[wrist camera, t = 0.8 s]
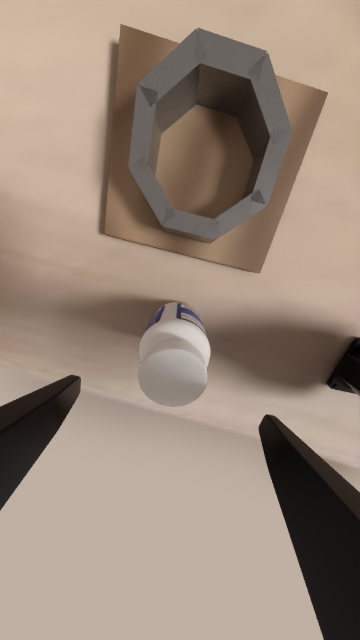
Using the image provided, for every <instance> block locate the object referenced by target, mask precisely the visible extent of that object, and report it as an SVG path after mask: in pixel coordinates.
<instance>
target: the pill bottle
mask: <svg viewBox="0 0 360 640" xmlns="http://www.w3.org/2000/svg"><path fill="white" fill-rule="evenodd" d="M139 360H140V363H141V366H140V369H139V374H138V379H139V384H140V387H141V389H142V391H143V392H144V393H145V394H146V396H147V397H149V398H150V399H151V400H153V401H154V402H156V403H158V404H161V405H165V406H183V405H186V404H189V403H191V402H193V401H195V400H196V399H197V398H198V397H199V396H200V395H201V394H202V393H203V391H204V390H205V387H206V385H207V370H206V368H207V366H208V363H209V360H210V345H209V341H208V338H207V335H206V332H205V329H204V327H203V324H202V321H201V319H200V316H199V314H198V313H197V311H196V310H195V309H194V308H192V307H191V306H190V305H188V304H185V303H181V302H171V303H167V304H165V305H163V306H161V307H160V308H159V309H158V310H157V311H156V312H155V314H154V315H153V317H152V319H151V321H150V323H149V325H148V327H147V329H146V331H145V332H144V334H143V336H142V339H141V341H140V344H139Z"/></svg>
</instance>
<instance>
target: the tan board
mask: <svg viewBox="0 0 360 640" xmlns="http://www.w3.org/2000/svg"><path fill="white" fill-rule="evenodd" d="M179 44H180V43H177V42H174V41H171V40H168V39H164V38H161V37H158V36H155V35H152V34H149V33H146V32H143V31H140V30H137V29H134V28H131V27H128V26H125V25H122V24H121V25H120V38H119V51H118V64H117V76H116V89H115V102H114V115H113V128H112V141H111V153H110V166H109V179H108V192H107V205H106V217H105V230H104V234H106V235H109V236H113V237H116V238H120V239H124V240H128V241H132V242H136V243H140V244H144V245H148V246H152V247H156V248H160V249H164V250H168V251H172V252H176V253H180V254H184V255H188V256H192V257H196V258H200V259H204V260H208V261H212V262H216V263H219V264H223V265H227V266H231V267H235V268H239V269H243V270H247V271H251V272H255V273H260V272H261V269H262V266H263V264H264V261H265V258H266V256H267V253H268V250H269V248H270V245H271V242H272V240H273V237H274V234H275V232H276V229H277V227H278V224H279V221H280V219H281V216H282V213H283V211H284V208H285V205H286V203H287V200H288V197H289V195H290V192H291V190H292V187H293V184H294V182H295V179H296V176H297V174H298V171H299V168H300V166H301V163H302V160H303V158H304V155H305V152H306V150H307V147H308V145H309V142H310V139H311V137H312V134H313V131H314V129H315V126H316V123H317V121H318V118H319V115H320V113H321V110H322V107H323V105H324V102H325V100H326V97H327V94H328V92H325V91H322V90H319V89H316V88H313V87H310V86H307V85H304V84H301V83H298V82H295V81H292V80H288V79H285V78H282V77H279V76H276V75H275V77H276V80H277V83H278V86H279V90H280V93H281V96H282V99H283V102H284V106H285V109H286V112H287V115H288V119H289V122H290V125H291V128H292V132H291V133H292V135H291V138H290V141H289V144H288V147H287V150H286V153H285V156H284V159H283V161H282V164H281V167H280V170H279V173H278V176H277V179H276V182H275V184H274V187H273V190H272V193H271V196H270V199H269V202H268V205H267V206H266V207H265V208H263V209H262V210H261V211H259V212H258V213H256V214H255V215H253V216H252V217H250V218H249V219H247V220H246V221H244V222H243V223H241V224H239V225H238V226H236V227H235V228H233V229H232V230H230V231H229V232H227V233H226V234H224V235H223V236H221V237H220V238H218V239H217V240H215V241H213V242H212V243H210V244H209V243H205V242H201V241H198V240H194V239H190V238H186V237H182V236H178V235H174V234H170V233H167V232H166V231H165V230H164V229H163V227H162V225H161V224H160V222H159V220H158V218H157V217H156V215H155V213H154V211H153V210H152V208H151V206H150V205H149V203H148V201H147V199H146V198H145V196H144V194H143V192H142V191H141V189H140V187H139V186H138V184H137V182H136V180H135V179H134V177H133V175H132V173H131V171H130V170H129V167H128V165H129V155H130V146H131V137H132V127H133V118H134V109H135V100H136V90H137V85H138V82H140V81H141V80H142V79H143V78H144V77H145V76H146V75H147V74H148V73H149V72H150V71H151V70H152V69H153V68H155V67H156V66H157V65H158V64H159V63H160V62H161V61H162V60H163V59H164V58H165V57H166V56H167V55H168V54H169V53H171V52H172V51H173V50H174V49H175V48H176V47H177V46H178V45H179ZM253 162H254V160H253V158H252V155H251V153H250V150H249V147H248V145H247V142H246V140H245V137H244V134H243V132H242V129H241V127H240V124H239V121H238V119H237V117H236V116H232V115H229V114H226V113H223V112H219V111H216V110H213V109H210V108H206V107H203V106H200V105H195V106H194V107H193V108H192V109H191V110H189V111H188V112H187V113H186V114H185V115H183V116H182V117H181V118H180V119H179V120H177V121H176V122H175V123H174V124H173V125H172V126H170V127H169V128H168V129H167V130H166V131H164V132H163V133H162V135H161V141H160V148H159V154H158V161H157V168H156V174H155V177H156V179H157V181H158V182H159V184H160V186H161V188H162V190H163V192H164V193H165V195H166V197H167V199H168V201H169V203H170V204H171V206H172V208H173V209H177V210H181V211H184V212H188V213H192V214H196V215H199V216H203V217H207V218H211V219H215V218H216V217H218V216H219V215H221V214H222V213H224V212H225V211H227V210H228V209H230V208H231V207H233V206H234V205H236V204H237V203H238V202H240V201H241V200H242V198H243V195H244V191H245V188H246V185H247V181H248V178H249V175H250V172H251V168H252V165H253Z"/></svg>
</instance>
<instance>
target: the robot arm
mask: <svg viewBox="0 0 360 640" xmlns="http://www.w3.org/2000/svg"><path fill="white" fill-rule="evenodd" d="M327 385H328V386H329V387H330V388H331V389H335V390H340V391H345V392H349V393H354V394H358V395H359V396H360V338H357V339H355V340H354V341H353V343H352V345H351V346H350V348H349V349H348V351H347V352H346V354H345V356H344V357H343V359H342V360H341V362H340V363H339V365H338V367H337V368H336V370H335V371H334V373H333V374H332V376H331V378H330V379H329V381H328V382H327ZM80 387H81V378H80V377H79V376H75V375H69V376H67V377H65V378H63V379H60V380H58V381H56V382H54V383H52V384H49V385H47V386H45V387H43V388H40V389H38V390H36V391H34V392H32V393H29V394H27V395H25V396H23V397H20V398H18V399H16V400H14V401H12V402H9V403H7V404H5V405H3V406H0V510H1V509H2V507H3V506H4V505H5V503H6V502H7V501H8V499H9V498H10V496H11V495H12V493H13V492H14V491H15V489H16V488H17V487H18V485H19V484H20V482H21V481H22V480H23V478H24V477H25V476H26V474H27V473H28V471H29V470H30V469H31V467H32V466H33V464H34V463H35V462H36V460H37V459H38V458H39V456H40V455H41V453H42V452H43V450H44V449H45V448H46V446H47V445H48V444H49V442H50V441H51V439H52V438H53V437H54V435H55V434H56V432H57V431H58V429H59V428H60V426H61V425H62V423H63V421H64V420H65V418H66V416H67V414H68V413H69V411H70V409H71V408H72V406H73V404H74V403H75V401H76V399H77V397H78V396H79V393H80ZM259 434H260V438H261V442H262V446H263V450H264V455H265V459H266V463H267V466H268V470H269V473H270V476H271V479H272V483H273V485H274V488H275V492H276V495H277V498H278V501H279V504H280V507H281V510H282V513H283V516H284V519H285V522H286V525H287V528H288V531H289V534H290V538H291V541H292V544H293V547H294V550H295V553H296V556H297V559H298V562H299V565H300V568H301V571H302V574H303V577H304V580H305V583H306V586H307V589H308V593H309V596H310V599H311V602H312V605H313V608H314V611H315V614H316V617H317V620H318V623H319V626H320V629H321V632H322V635H323V638H324V640H360V492H359V491H358V490H356V489H355V488H354V487H353V486H352V485H351V484H350V483H349V482H347V481H346V480H345V479H344V478H343V477H342V476H341V475H340V474H338V472H336V471H335V470H334V469H333V468H332V467H331V466H330V465H329V464H328V463H326V462H325V461H324V460H323V459H322V458H321V457H320V456H319V455H318V454H316V453H315V452H314V451H313V450H312V449H311V448H310V447H309V446H308V445H306V444H305V443H304V442H303V441H302V440H301V439H300V438H299V437H298V436H296V435H295V434H294V433H293V432H292V431H291V430H290V429H289V428H288V427H286V426H285V425H284V424H283V423H282V422H281V421H280V420H279V419H278V418H276V417H275V416H273V415H268V414H267V415H265V416H264V418H263V420H262V421H261V423H260V425H259Z"/></svg>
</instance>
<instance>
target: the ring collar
mask: <svg viewBox="0 0 360 640" xmlns="http://www.w3.org/2000/svg"><path fill="white" fill-rule="evenodd" d="M266 52H267V51H265V50H262V49H259V48H256V47H253V46H250V45H247V44H244V43H241V42H238V41H235V40H232V39H230V38H227V37H224V36H221V35H218V34H215V33H212V32H209V31H206V30H203V29H200V28H198V31H197V28H196V29H195V30H194V31H193V32H192V33H191V34H190V35H189V36H188V37H187V38H185V39H184V40H183V41H182V42H181V43H180V44H179V45H178V46H177V47H176V48H175V49H174V50H173V51H172V52H171V53H169V54H168V55H167V56H166V57H165V58H164V59H163V60H162V61H161V62H160V63H159V64H158V65H157V66H156V67H155V68H153V69H152V70H151V71H150V72H149V73H148V74H147V75H146V76H145V77H144V78H143V79H142V80H141V81H140V82H138V85H137V90H136V100H135V109H134V118H133V127H132V137H131V146H130V155H129V165H128V167H129V170H130V171H131V173H132V175H133V177H134V179H135V180H136V182H137V184H138V186H139V187H140V189H141V191H142V192H143V194H144V196H145V198H146V199H147V201H148V203H149V205H150V206H151V208H152V210H153V211H154V213H155V215H156V217H157V218H158V220H159V222H160V224H161V225H162V227H163V229H164V230H165V231H166V232H167V233H170V234H174V235H178V236H182V237H186V238H190V239H194V240H198V241H201V242H205V243H209V244H210V243H212V242H213V241H215V240H217V239H218V238H220V237H221V236H223V235H224V234H226V233H227V232H229V231H230V230H232V229H233V228H235V227H236V226H238V225H239V224H241V223H243V222H244V221H246V220H247V219H249V218H250V217H252V216H253V215H255V214H256V213H258V212H259V211H261V210H262V209H263V208H265V207H266V206H267V205H268V202H269V199H270V196H271V193H272V190H273V187H274V184H275V182H276V179H277V176H278V173H279V170H280V167H281V164H282V161H283V159H284V156H285V153H286V150H287V147H288V144H289V141H290V138H291V135H292V133H291V132H292V128H291V125H290V122H289V119H288V115H287V112H286V109H285V106H284V102H283V99H282V96H281V93H280V90H279V86H278V83H277V80H276V77H275V74H274V70H273V67H272V64H271V61H270V58H269V54H268V53H267V54H266ZM195 105H200V106H203V107H206V108H210V109H213V110H216V111H219V112H223V113H226V114H229V115H232V116H236V117H237V119H238V121H239V124H240V127H241V129H242V132H243V134H244V137H245V140H246V142H247V145H248V147H249V150H250V153H251V155H252V158H253V160H254V162H253V165H252V168H251V172H250V175H249V178H248V181H247V185H246V188H245V191H244V195H243V198H242V200H241V201H240V202H238V203H237V204H236V205H234V206H233V207H231V208H230V209H228V210H227V211H225V212H224V213H222V214H221V215H219V216H218V217H216V218H215V219H211V218H207V217H203V216H199V215H196V214H192V213H188V212H184V211H181V210H177V209H173V208H172V206H171V204H170V203H169V201H168V199H167V197H166V195H165V193H164V192H163V190H162V188H161V186H160V184H159V182H158V181H157V179H156V177H155V174H156V168H157V161H158V154H159V148H160V141H161V135H162V133H163V132H164V131H166V130H167V129H168V128H169V127H170V126H172V125H173V124H174V123H175V122H176V121H177V120H179V119H180V118H181V117H182V116H183V115H185V114H186V113H187V112H188V111H189V110H191V109H192V108H193V107H194V106H195Z"/></svg>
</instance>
